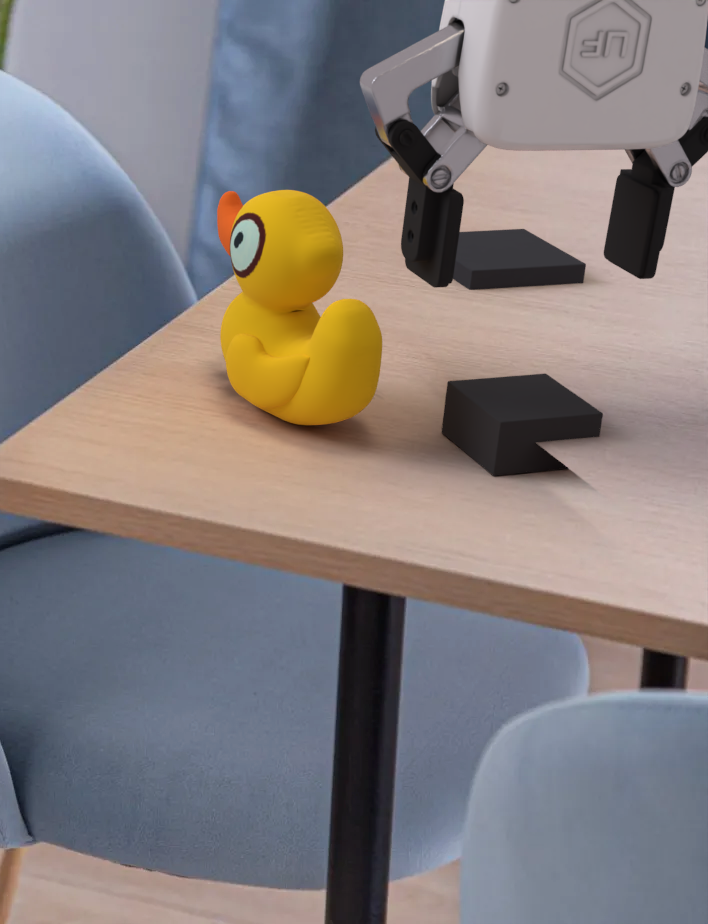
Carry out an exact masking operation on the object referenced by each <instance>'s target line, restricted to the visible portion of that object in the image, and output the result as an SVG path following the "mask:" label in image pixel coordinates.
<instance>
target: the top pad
mask: <svg viewBox="0 0 708 924" xmlns="http://www.w3.org/2000/svg"><path fill="white" fill-rule="evenodd" d="M443 409H444V410H443V416H442V423H441V433H442V435H444V436H445V437H446V438H447V439H449V440H450V441H451V442H452V443H453V444H454V445H456V446H457V447H458V448H460V450H462V451H463V452H464V453H465V454H467V456H469V457H470V458H471V459H473V460H474V461H475V462H476V463H477V464H478V465H480V466H481V467H482V468H483V469H484V470H486V471H487V472H488V473H489V474H490V475H491V476H493V477H494V476H495V477H496V476H506V475H515V474H517V475H518V474H526V473H536V472H537V473H538V472H546V471H547V472H548V471H556V470H567V469H569V467H568V466H566V465H565V464H564V463H563V462H561V461H560V460H559V459H558V458H557V457H555V456H554V455H552V453H549V451H547V450H546V449H544V447H542V446H541V445H539V444H538V443H547V442H558V441H569V440H577V439H578V440H579V439H590V438H599V437H600V434H601V428H602V422H603V416H604V413H603V412H602V411H600V410H599V409H597V408H596V407H594V405H592V404H591V403H589V402H587V401H586V400H584V398H582V397H580V396H579V395H577V394H576V393H574V391H572V390H570V389H569V388H567V387H566V386H565V385H563V384H562V383H560V382H559V381H557V380H556V379H555V378H553V377H552V376H550V375H549V374H547V373H536V374H535V373H533V374H522V375H510V376H498V377H497V376H495V377H483V378H472V379H471V378H470V379H457V380H448V381H447V383H446V392H445V398H444V407H443Z"/></svg>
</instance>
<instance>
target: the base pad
mask: <svg viewBox="0 0 708 924" xmlns="http://www.w3.org/2000/svg"><path fill="white" fill-rule="evenodd" d="M586 268H587V264H586V263H585V262H583V261H581V260H579V259H578V258H576V257H574V256H573V255H571V254H569V253H567V252H566V251H564V250H562V249H561V248H558V247H557V246H555V245H553V244H552V243H550V242H549V241H546V240H544V239H542V238H541V237H539V236H537V235H536V234H534V233H533V232H530V231H528V230H527V229H525V228H512V229H493V230H492V229H491V230H490V229H489V230H473V231H472V230H471V231H470V230H469V231H460V232H459V239H458V246H457V253H456V261H455V268H454V275H453V280H454V281H455V282H456V283H458V284H459V285H461V286H463V287H464V288H466V289H467V290H469V291H476V290H477V291H478V290H494V289H511V288H527V287H542V286H556V285H557V286H560V285H574V284H577V285H578V284H584V279H585V275H586Z"/></svg>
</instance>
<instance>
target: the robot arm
mask: <svg viewBox="0 0 708 924" xmlns="http://www.w3.org/2000/svg"><path fill="white" fill-rule="evenodd" d="M707 28H708V0H444V2H443V8H442V13H441V17H440V23H439V28H438V30H437V31H436V32H433V33H432V34H429V35H428V36H426V37H424V38H422V39H420V40H419V41H417V42H415V43H413V44H411V45H410V46H408V47H406V48H404V49H402V50H400V51H398V52H396V53H394V54H392V55H390V56H389V57H387V58H385V59H383V60H381V61H380V62H377V63H376V64H374V65H372V66H370V67H368V68H367V69H365V70H364V71H363V72H362V74H361V75H360V77H359V78H360V79H359V87H360V89H361V92H362V95H363V98H364V101H365V103H366V107H367V109H368V112H369V115H370V118H371V120H373V123H374V133H375V136H376V138H377V139H378V141H379V142H380V143H381V144H382V146H383V147H384V148H385V149H386V151H387V152H388V153H389V154H390V156H391V157H392V158H393V159H394V160H395V161H396V163H397V165H398V168H399V170H400V171H401V173H403V174H404V175H406V176H407V177H408V183H407V184H408V185H407V191H406V193H407V194H406V199H405V207H404V208H405V209H404V215H403V221H402V222H403V223H402V229H401V239H400V250H401V254H402V256H403V257H404V264H405V267H406V269H407V270H409V271H410V272H411V273H413V274H414V275H415V276H417V277H419V278H420V279H421V280H422V281H424V282H426V284H428V285H430V286H431V287H432V288H435V289H436V288H448V287H449V285H450V284H452V283H453V280H454V279H453V275H454V268H455V261H456V253H457V246H458V239H459V232H461V225H462V218H463V210H464V204H465V199H464V196H463V193H462V192H459V191H458V190H456V189H455V188H454V183H455V182H456V181H457V180H458V179H459V178H460V177H461V176H462V174H463V173H465V171H466V170H467V169H468V168H469V167H470V165H472V163H473V162H474V161H475V160H476V159H477V157H478V156H479V155H480V154H481V153H482V152H483V151H484V150H485V149H486V147H488V146H490V147H492V148H495V149H498V150H504V151H513V152H514V151H518V152H521V151H522V152H523V151H524V152H529V151H530V152H547V151H548V152H550V151H551V152H552V151H553V152H554V151H556V152H557V151H559V152H560V151H561V152H563V151H565V152H566V151H609V150H610V151H617V150H619V151H620V150H621V151H625V153H626V155H627V156H628V158H629V160H630V163H631V164H632V165H631V168H620V171H619V174H618V176H617V177H616V180H615V184H614V185H615V186H614V192H613V197H612V202H611V209H610V214H609V218H608V219H609V220H608V225H607V231H606V236H605V242H604V248H603V256H604V259H606V261H608V263H611V264H613V265H615V266H616V267H618V268H619V269H620V270H621V269H622V270H623V271H625V272H626V273H629V275H632V276H633V277H635V278H637V279H638V280H647V279H648V280H650V279H654V277H655V276H656V273H657V268H658V263H659V256H660V253H661V251H662V249H663V248H664V245H665V241H666V236H667V235H666V234H667V230H668V224H669V221H670V215H671V210H672V205H673V199H674V194H675V189H676V188H680V187H682V186H684V185H686V184H687V183H688V182H689V180H690V178H691V177H692V173H693V167H694V165H696V164H698V162H699V161H700V160H701V159H702V158H703V157H705V155H706V154H707V153H708V48H706V47H705V45H706V40H707V39H706V37H707ZM430 82H431V86H430V89H431V90H430V105H431V110H432V112H433V114H434V115H433V116H432V117H431V119H430V120H429V121H428V122H427V123H426V124H425V125H424V127H423V128H422V129H420V128H419V127H418V126H417V125H416V124H415V123H414V121H413V119H412V115H411V109H410V104H409V100H410V96H411V95H412V93H413V92H414V91H415V90H416V89H419V88H421V87H422V86H424V85H426V84H428V83H430Z"/></svg>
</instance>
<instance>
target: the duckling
mask: <svg viewBox="0 0 708 924" xmlns="http://www.w3.org/2000/svg"><path fill="white" fill-rule="evenodd" d="M216 222H217V223H216V224H217V233H218V239H219V242H220V243H221V245H222V247H223V248H224V250H225V252H226V254H227V255H228V256H229V257H230V263H231V267H232V271H233V274H234V276H235V279H236V281H237V284H238V286H239V287H240V289H241V292H240V293H239V294H237V295H236V296H235V297H234V298H233V299H232V301H231V302H230V303H229V304H228V306H227V308H226V310H225V312H224V314H223V316H222V320H221V325H220V333H219V340H220V348H221V352H222V355H223V359H224V361H225V369H226V373H227V374H226V375H227V377H228V381H229V384H230V385H231V387H232V388H233V390H234V391H235V393H237V394H238V396H240V397H242V398H243V399H245V400H246V401H247V402H248V403H250V404H251V405H252V406H255V407H256V408H258V409H260V410H262V411H264V412H266V413H269V414H270V415H272V416H274V417H275V418H278V419H280V420H282V421H285V422H287V423H290V424H293V425H299V426H323V425H330V424H331V425H332V424H336V423H338V422H343V421H346V420H349V419H352V418H353V417H355V416H356V415H358V414H360V413H361V412H362V411H363V410H364V409H366V407H368V406H369V404H370V403H371V402H372V400H373V398H374V396H375V395H376V392H377V389H378V384H379V380H380V375H381V373H380V372H381V366H382V356H383V335H382V331H381V328H380V325H379V322H378V320H377V318H376V315H375V313H374V312H373V310H372V309H371V307H370V306H369V305H368V304H366V303H365V302H364V301H362V300H360V299H357V298H341V299H338V300H336V301H333V302H331V304H329V305H328V306H327V307H326V308H325V309H324V311H323V313H322V314H321V315H320V313H319V311H318V310H317V308H316V306H315V305H314V303H315V302H317V301H319V300H321V299H322V298H323V297H325V296H326V295H327V294H328V293H329V292H330V291H331V290H332V288H333V287H334V286H335V284H336V282H337V281H338V279H339V277H340V274H341V271H342V268H343V262H344V244H343V238H342V234H341V231H340V228H339V225H338V224H337V222H336V219H335V218H334V216H333V214H332V213H331V211H330V210H329V209H328V208H327V206H325V204H324V203H323V202H321V201H320V200H319V199H318V198H317V197H315V196H313V195H311V194H309V193H306V192H304V191H300V190H294V189H278V190H273V191H267V192H264V193H260V194H258V195H256V196H254V197H252V198H251V199H249V200H248V201H246V202H245V203H244V204H243V202H242V200H241V198H240V196H239V194H238V192H236V191H233V190H228V191H226V192H224V193H223V194H222V196H221V197H220V198H219V202H218V205H217V209H216Z"/></svg>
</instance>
